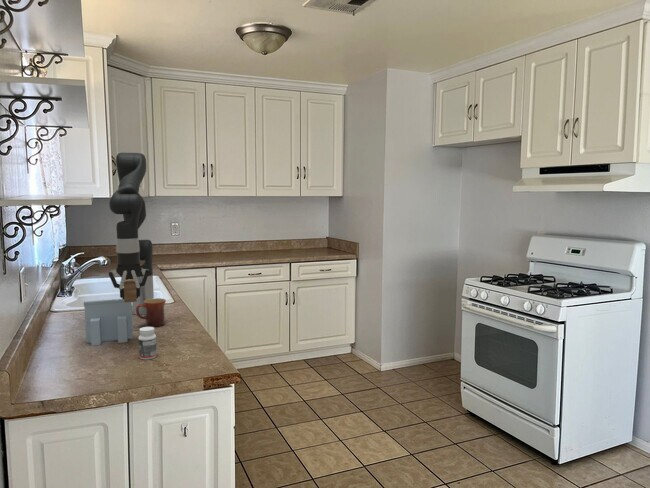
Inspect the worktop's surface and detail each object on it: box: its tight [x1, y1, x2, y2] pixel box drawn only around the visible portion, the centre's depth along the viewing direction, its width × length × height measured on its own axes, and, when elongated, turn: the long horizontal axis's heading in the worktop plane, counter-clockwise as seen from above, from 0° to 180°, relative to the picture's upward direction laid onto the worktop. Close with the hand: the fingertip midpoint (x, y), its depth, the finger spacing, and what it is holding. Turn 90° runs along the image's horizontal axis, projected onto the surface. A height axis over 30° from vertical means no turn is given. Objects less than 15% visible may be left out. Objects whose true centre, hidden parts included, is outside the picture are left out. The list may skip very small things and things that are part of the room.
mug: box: [136, 298, 167, 328], centre depth 204 cm, size 12×9×10 cm
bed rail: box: [123, 279, 137, 302], centre depth 179 cm, size 14×4×6 cm, turn 22°
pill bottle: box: [138, 326, 158, 361], centre depth 167 cm, size 6×6×10 cm
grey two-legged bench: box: [83, 298, 134, 347], centre depth 183 cm, size 6×16×15 cm, turn 110°
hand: (130, 298), depth 177 cm, fingers closed on bed rail, 4 cm apart
